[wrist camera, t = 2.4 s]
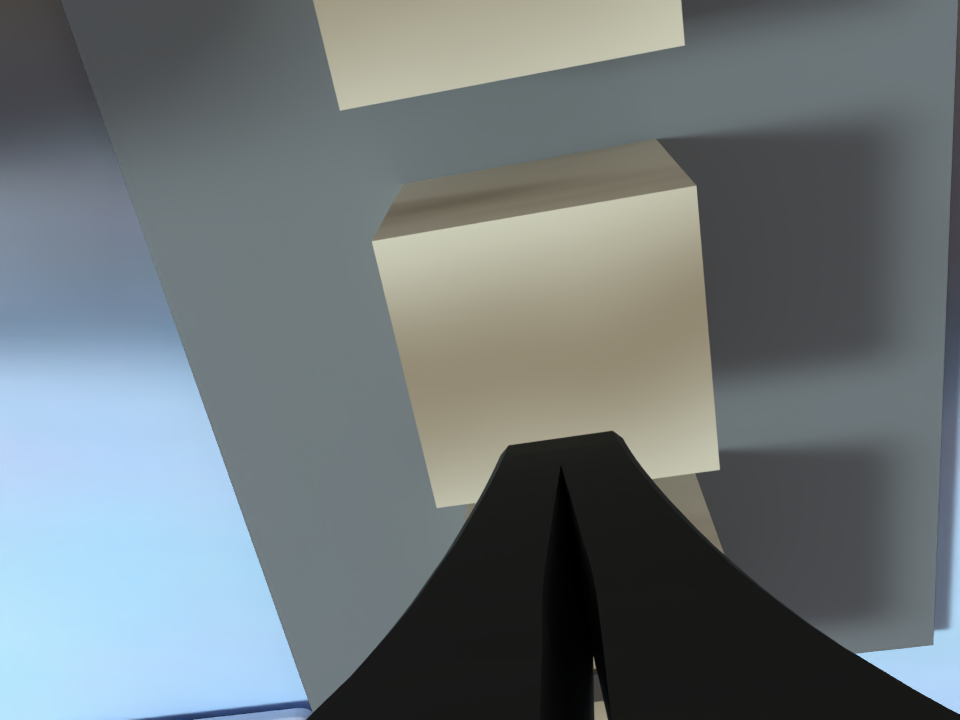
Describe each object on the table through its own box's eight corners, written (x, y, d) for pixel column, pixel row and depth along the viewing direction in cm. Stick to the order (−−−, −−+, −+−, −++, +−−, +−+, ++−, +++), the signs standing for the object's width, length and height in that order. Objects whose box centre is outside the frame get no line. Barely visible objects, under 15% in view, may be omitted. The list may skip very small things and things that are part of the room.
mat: (924, 630, 22) (933, 644, 21) (317, 698, 23) (312, 713, 23) (962, -498, 13) (977, -516, 12) (-15, -255, 15) (-32, -262, 14)
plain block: (679, 371, 18) (719, 469, 15) (452, 405, 19) (436, 508, 15) (655, 139, 16) (696, 185, 13) (402, 184, 17) (371, 241, 13)
